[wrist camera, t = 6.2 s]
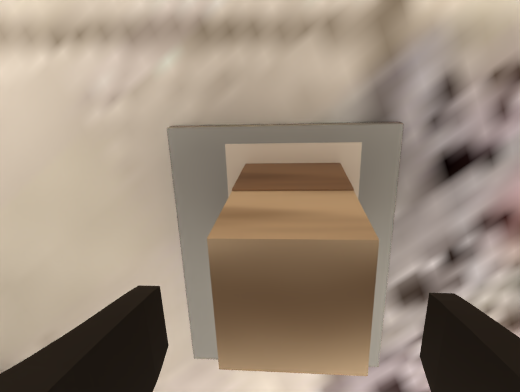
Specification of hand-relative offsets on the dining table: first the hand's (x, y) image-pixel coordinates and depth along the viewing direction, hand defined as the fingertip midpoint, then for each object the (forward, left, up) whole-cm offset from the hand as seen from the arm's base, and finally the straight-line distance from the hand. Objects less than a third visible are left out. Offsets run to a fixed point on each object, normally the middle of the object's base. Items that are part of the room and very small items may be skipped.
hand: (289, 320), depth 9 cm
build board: (-3, 0, -9) cm, 10 cm away
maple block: (0, 0, -5) cm, 5 cm away
